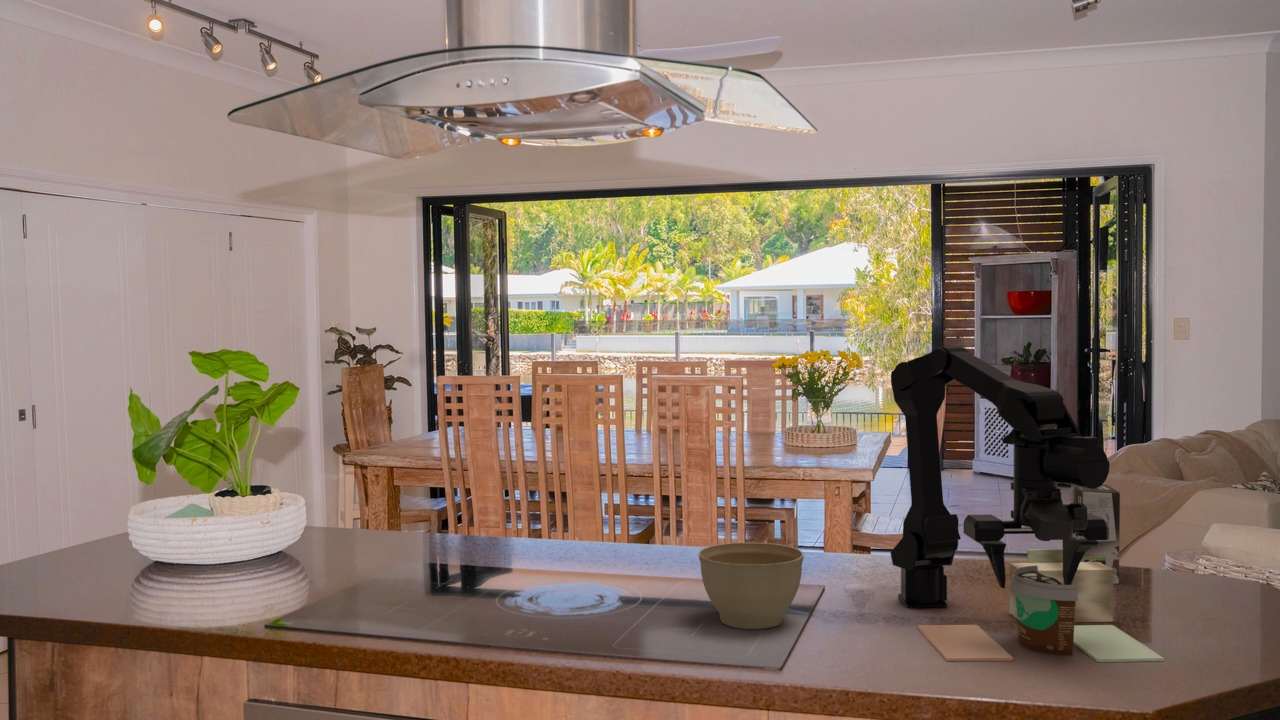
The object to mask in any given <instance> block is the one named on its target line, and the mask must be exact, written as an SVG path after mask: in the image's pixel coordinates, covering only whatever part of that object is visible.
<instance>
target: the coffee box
mask: <svg viewBox="0 0 1280 720" xmlns="http://www.w3.org/2000/svg"><path fill="white" fill-rule="evenodd" d="M1070 489H1071V492H1070V493H1071V494H1070V502H1071V503H1084V504H1085V506H1086V507H1087V513H1090V514H1093V515H1095V516H1097V517H1100V518H1102V519H1104V520H1105V521H1106V522H1107V524H1108V527H1109V539H1108V540H1096V541H1098V542H1099V545H1098V546H1093V547H1091V548H1090V549H1089V550H1088V551H1086V553H1085V554H1084V556H1083V558H1082V560H1081V562H1100V563H1102V564H1104V565H1106V566H1107V567H1109V568H1111V569H1113V570H1114V577H1113V585H1118V584H1120V529H1121V528H1120V526H1121V525H1120V523H1121V522H1120V520H1121V519H1120V518H1121V517H1120V515H1121V492H1120V491H1118V490H1116V489H1114V488H1113V487H1111V486H1109V485H1108V484H1102V485H1101V486H1100V487H1098V488H1095V489H1091V488H1086V487H1080V486H1075V485H1071V487H1070ZM1071 503H1070V504H1071Z"/></svg>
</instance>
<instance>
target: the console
mask: <svg viewBox="0 0 1280 720" xmlns="http://www.w3.org/2000/svg"><path fill="white" fill-rule="evenodd" d="M1026 555H1027V556H1026V557H1027V560H1026V561H1027V562H1010V563H1009V585H1010V584H1011V579H1012V576H1013V574H1014V571H1015V570H1016V569H1018V568H1021V567H1026V566H1038V573H1040V574H1042V575H1044V576H1047V577H1052V578H1055V579H1057V580H1058V581H1059V582H1060V583H1061V584H1063V585H1064V580H1063V548H1039V549H1038V548H1037V549H1036V548H1035V549H1034V548H1033V549H1032V548H1030V549H1027V554H1026ZM1113 577H1114V570H1113V569H1111V568H1109V567H1107V566H1106V565H1104V564H1102V563H1100V562H1080V564H1079V566H1078V569H1077V571H1076V574H1075V576H1074V579H1073V581H1072V584H1071V585H1076V590H1077V593H1078V601H1076V605H1075V622H1074V623H1102V622H1103V623H1105V622H1106V623H1108V622H1110V623H1111V622H1112V623H1113V622H1114V584H1113ZM1011 614H1012V615H1013V616H1012V615H1011ZM1009 615H1011V616H1012V617H1014V618H1015V619H1016V620H1017V608H1016V595H1015V591H1014V590H1013V589H1012V588H1011V587H1010V586H1009Z"/></svg>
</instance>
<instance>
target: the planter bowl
mask: <svg viewBox="0 0 1280 720" xmlns="http://www.w3.org/2000/svg"><path fill="white" fill-rule="evenodd" d="M698 559H699V562H700V573H701V578H702V582H703V586H704V590H705V591H706V594H707V596H708V598H709V600H710V601H711V604H712V605H713V606H714V608H715V610H717V612H718V613H719V619H720V622H721V623H723V624H724V625H726V626H728V627H732V628H734V629H745V630H761V629H771V628H774V627H777V626H779V625H781V624H782V622H783V619H784V614H785V613H786V612H787V611H788V609H789V608H790V607H791V605H792V602H793V601H794V599H795V597H796V595H797V594H798V593H797V592H798V590H799V587H800V585H801V579H802V578H801V577H802V574H803V573H802V571H803V562H804V552H803V551H802V550H801V549H799V548H796V547H793V546H790V545H784V544H779V543H771V542H770V543H769V542H728V543H727V542H726V543H720V544H714V545H710V546H708V547H704V548H702V549H700V550H699V551H698Z"/></svg>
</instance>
